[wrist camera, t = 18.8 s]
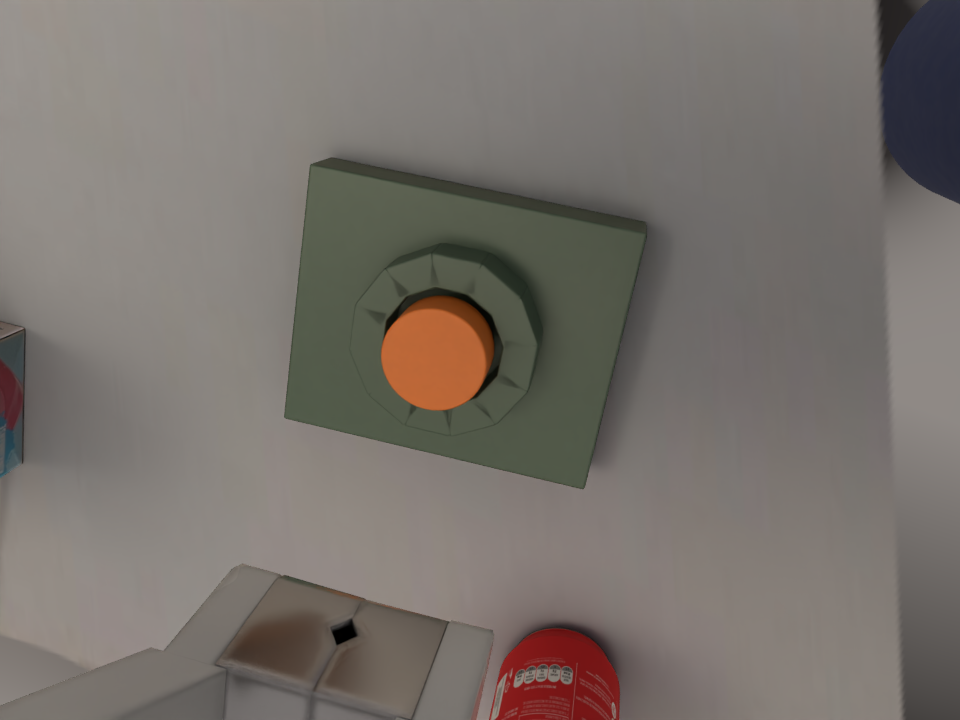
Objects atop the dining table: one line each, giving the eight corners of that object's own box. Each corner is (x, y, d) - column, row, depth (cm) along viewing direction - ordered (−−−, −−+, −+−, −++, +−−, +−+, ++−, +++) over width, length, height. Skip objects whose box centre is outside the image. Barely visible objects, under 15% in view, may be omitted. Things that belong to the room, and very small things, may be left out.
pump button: (503, 307, 29) (495, 321, 28) (484, 402, 31) (476, 421, 29) (401, 285, 30) (388, 297, 28) (387, 380, 31) (373, 397, 29)
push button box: (647, 222, 31) (648, 243, 27) (587, 465, 35) (581, 514, 31) (330, 156, 32) (290, 169, 29) (303, 398, 36) (264, 437, 32)
